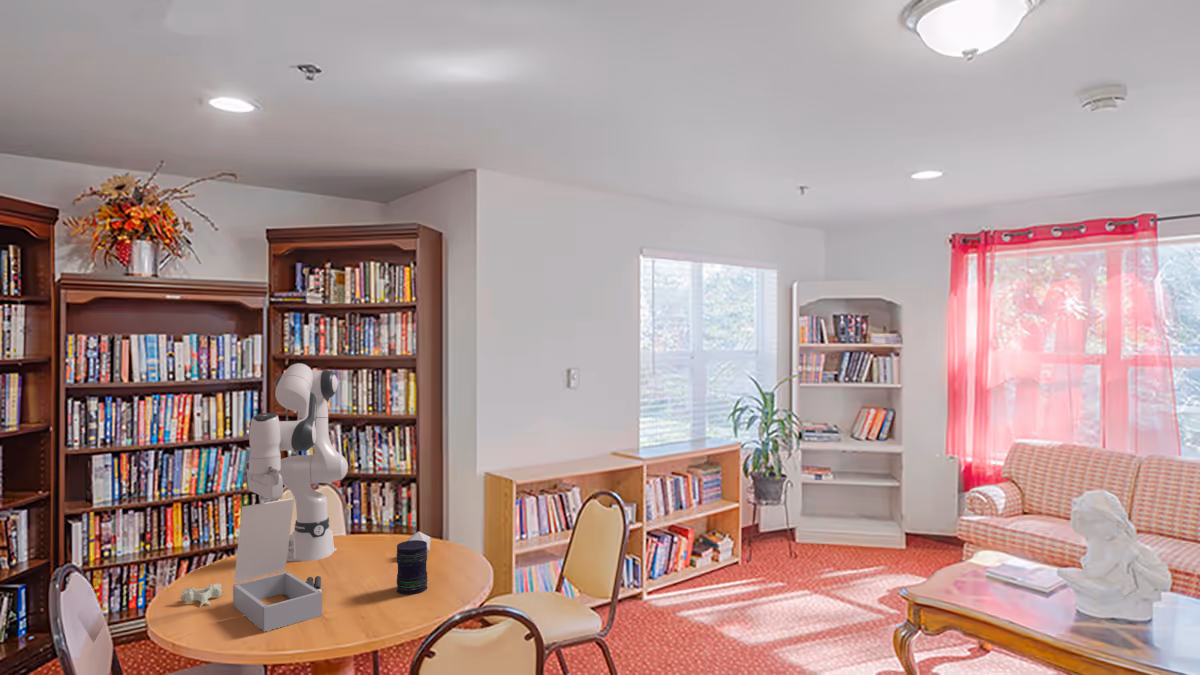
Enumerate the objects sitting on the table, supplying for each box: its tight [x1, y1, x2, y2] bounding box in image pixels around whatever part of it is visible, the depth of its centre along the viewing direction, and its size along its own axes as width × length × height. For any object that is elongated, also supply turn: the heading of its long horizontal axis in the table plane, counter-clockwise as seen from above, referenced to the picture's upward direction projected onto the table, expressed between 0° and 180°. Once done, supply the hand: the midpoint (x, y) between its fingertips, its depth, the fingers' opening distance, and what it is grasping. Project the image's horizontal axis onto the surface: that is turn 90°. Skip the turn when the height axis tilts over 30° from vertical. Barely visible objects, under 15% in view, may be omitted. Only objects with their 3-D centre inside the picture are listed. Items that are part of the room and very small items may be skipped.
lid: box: [234, 497, 295, 583], centre depth 214 cm, size 26×15×1 cm
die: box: [407, 531, 432, 553], centre depth 257 cm, size 8×9×10 cm
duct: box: [232, 571, 323, 633], centre depth 207 cm, size 26×16×7 cm, turn 46°
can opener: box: [305, 575, 323, 592], centre depth 221 cm, size 19×5×6 cm, turn 22°
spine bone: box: [179, 583, 224, 607], centre depth 214 cm, size 12×10×5 cm
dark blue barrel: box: [396, 540, 428, 596], centre depth 224 cm, size 10×10×15 cm
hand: (265, 509), depth 213 cm, fingers closed
